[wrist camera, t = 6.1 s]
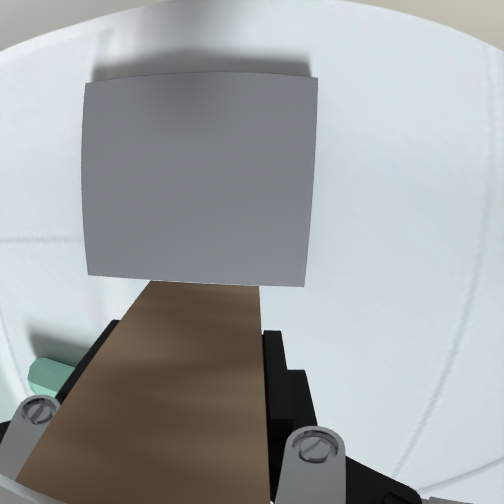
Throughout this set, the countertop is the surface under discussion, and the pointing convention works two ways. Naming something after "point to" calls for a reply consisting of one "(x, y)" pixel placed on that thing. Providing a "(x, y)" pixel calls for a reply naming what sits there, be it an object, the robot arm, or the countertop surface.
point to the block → (165, 407)
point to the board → (199, 177)
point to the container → (48, 376)
